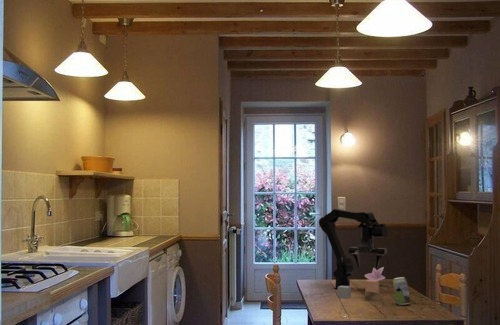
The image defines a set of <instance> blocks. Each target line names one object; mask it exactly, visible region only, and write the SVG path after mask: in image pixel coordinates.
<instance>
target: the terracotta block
mask: <svg viewBox="0 0 500 325" xmlns="http://www.w3.org/2000/svg"><path fill="white" fill-rule="evenodd" d="M379 282H380V280H369V279H367V280H365V281H364V285H365V286H364V287H365V289H364V290H365V291H364V293H365V292H374V293H376V292H378V291H380V283H379Z"/></svg>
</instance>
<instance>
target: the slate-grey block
mask: <svg viewBox="0 0 500 325" xmlns="http://www.w3.org/2000/svg"><path fill="white" fill-rule="evenodd" d="M351 297H352V286H351V285H350V286H339V287H338V289H337V298H339V299H349V298H351Z"/></svg>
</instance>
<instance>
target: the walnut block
mask: <svg viewBox="0 0 500 325" xmlns="http://www.w3.org/2000/svg"><path fill="white" fill-rule="evenodd" d="M380 300H381V291H380V290H379V291H378V292H376V293H374V292H365V291H364V301H366V302H367V301H368V302H379V301H380Z"/></svg>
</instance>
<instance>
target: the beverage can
mask: <svg viewBox="0 0 500 325" xmlns="http://www.w3.org/2000/svg"><path fill="white" fill-rule="evenodd" d="M392 285H393V291H394V298H395V302H396V304H397V305H399V306H404V305H405V306H406V305H408V304H410V303H411V297H410V293H409V287H408V282H407V279H406V278H405V277H404V276H399V277H394V278H393V280H392Z"/></svg>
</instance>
